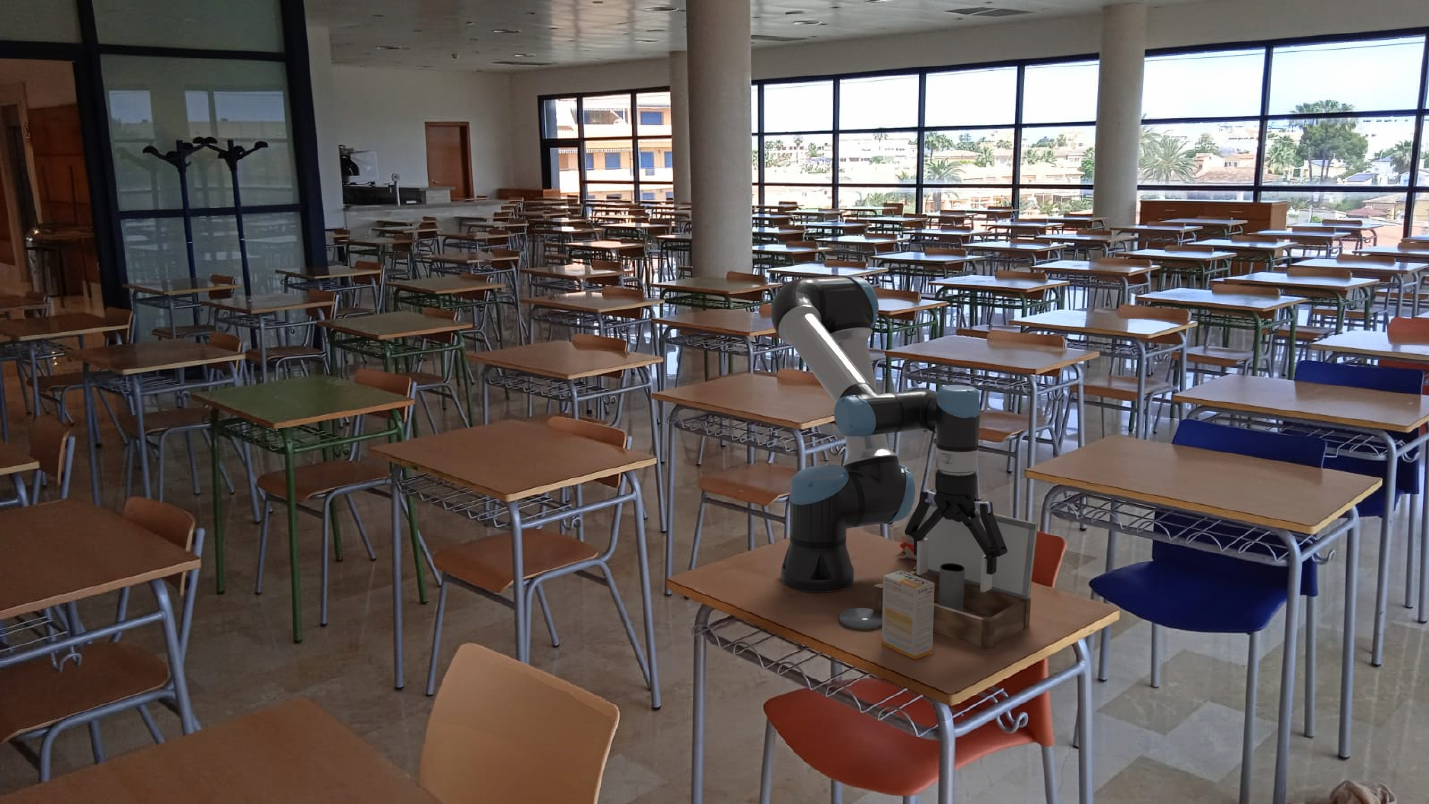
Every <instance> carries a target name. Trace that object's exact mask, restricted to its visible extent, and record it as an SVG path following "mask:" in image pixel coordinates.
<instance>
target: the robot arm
mask: <svg viewBox="0 0 1429 804" xmlns="http://www.w3.org/2000/svg"><path fill="white" fill-rule="evenodd" d="M879 305H880V304H879V299H878V296H877V294H876V291H875V289H874V287H873V286H872V284H871V283H870V282H869V281H868V280H865V279H864V278H863V277H859V276H850V275H840V276H825V277H801V278H795V279H793V280H791V281H789V282H787V283H786V284H785V285H783V286H782V287H781V288H780V289H779V291H778V292H777V293H776V294H775V296H774V299H773V301H772V304H771V309H770V317H771V319H770V320H771V323H772V326H773V328H774V331H775V333H776V334H777V335H778V337H779V339H781V341H782V342H783V343H785V344H786V345H789V346H792V347H793V349H794V350H795V351H796V353H797V354H798V355H799V357H800V358H801V359H802V361H803V362H804V364H805V365H806V366H807V367H808V369H809V370H810V372H811V373H812V374H813V376H814V377H815V379H816V380H817V381H818V382H819V383H820V385H821V386H822V388H823V389H824V390H825V392H826V393H827V394H828V395H829V397H830V398H831V399H832V401H833V402H834V404H835V406H834V410H833V417H834V422H835V423H836V429H837V430H838V432H839V433H840V434H842V435H843V436H844V441H845V445H846V446H845V447H846V451H847V458H846V460H845V461H844V463H843V464H842V466H841V465H837V464H827V465H825V464H819V465H813V466H808V467H806V468H803V469H800V470H798V471H797V472H796V473H795V474H794V475H793V476H792V478H791V480H790V488H789V496H788V497H789V498H788V499H789V543H788V547H787V550H786V553H785V556H784V558H783V562H782V564H781V569H780V580H781V581H782V583H783V584H784V585H786V586H787V587H790V588H792V589H796V590H798V591H804V592H811V593H831V592H838V591H841V590H844V589H847V588H850V587H851V586H852V585H853V584H854V583H855V568H854V566H853V563H852V561H851V556H850V552H849V550H848V549H849V548H848V545H847V533H848V532H847V531H848V529H852V528H860V527H869V526H875V525H881V524H883V525H887V524H891V523H893V522H899V521H901V520H904V519H906V517H908V515H909V514H910V513H911V511H912V509H913V506H914V503H915V499H916V481H915V478H914V477H915V476H914V474H913V473H912V472H911V470H910V468H908V467H907V466H906V465H903V464H900V462H899V457H898V454H896V453H895V452H894V451H892V450H890V449H889V445H888V439H887V435H886V434H890V433H891V434H892V433H904V432H912V431H913V432H915V431H928V432H931V433H934V434H936V436H935V437H936V443H935V444H936V447H935V451H936V452H935V468H936V469H937V470H936V471H935V477H934V480H935V481H934V484H935V485H934V490H935V492H934V491H933V489H931V488H928V489H926V490H923V491H921V492H920V494H919V500H918V504H917V506H916V507H915V509H914V511H913V512H914V513H913V512H912V513H913V515H912V514H911V515H912V517H911V516H910V517H911V519H910V518H909V519H910V521H909V520H908V521H909V523H908V522H907V523H908V525H907V524H906V526H907V527H906V526H905V528H904V529H905V530H904V535H905V534H906V535H910V536H911V537H913V539H914V555H915V556H917V560H916V565H917V573H916V574H917V575H921V574H924V573H926V572H928V539H926V538H924V539H923V537H926V534H927V533H928V532H929V531H930V530H931V529H932V528H933V527H934V526H935V525H936V524H937V523H938V522H939V521H940V520H941V519H942V518H943V517H944V518H945V519H947V520H954V521H956V522H961V521H962V522H963V524H964V525H965V526H967V527H968V528H969V530H970V532H971V533H972V535H973V536H974V538H975V539H976V541H977V543H978V544H979V546H980V547H981V549H982V550H983V552H984V554H985V556H983V557H982V558H981V587H980V591H981V592H986V591H988V590H990V589H992V574H994V573H995V572H996V567H997V566H996V565H997V557H999V556H1002V555H1004V554H1006V553H1007V551H1008V550H1007V547H1006V545H1005V542H1004V540H1003V537H1002V535H1001V532H1000V530H999V527H998V524H997V522H996V519H995V517H994V514H995V513H994V507H993V502H992V501H991V500H987V501H978V500H977V492H978V474H979V473H977V472H976V471H977V470H978V469H979V442H980V440H979V439H980V421H981V420H980V419H981V407H980V405H981V404H980V402H981V401H980V392H979V390H978V389H977V388H976V387H974V386H970V385H963V384H951V385H950V384H949V385H948V384H947V385H942V386H940V387H939V388H938V390H937V391H936V390H932V389H930V388H928V387H923V386H922V387H921V386H920V387H919V386H910V387H906V388H905V389H904V390H903V391H898V392H897V391H896V392H885V393H884V392H883V393H882V392H881V393H879V392H878V388H877V384H876V378H875V374H874V369H873V363H872V359H871V354H870V353H871V352H870V349H869V344H868V341H869V339H870V337H871V335H872V334H873V329H872V328H873V327H874V326H875V325H876V324H877V321H878V319H879V314H878V312H879V310H880V309H879V307H880V306H879ZM933 501H935V503H936V505H937V507H938V508H937V509H936V510H935V511H934V512H933V513H932V515H931V516H930V517H929V519H928V520H927V521H926V522H925V523H924V524H923V525H922V526H921V527H920V528H919V526H920V524H921V522H922V520H923V518H924V516H925V514H926V512H927V510H928V508H929V506H930V504H931V502H933ZM976 509H977V510H978V513H980V516H981V519H982V522H983V525H984V527H985V530H986V531H985V530H984V528H983V526H982V525H981V523H980V522H979V517H978V516H977V514H976V513H975V510H976ZM993 513H994V514H993ZM969 517H970V518H971V519H969ZM918 528H919V529H918ZM986 532H987V533H986Z"/></svg>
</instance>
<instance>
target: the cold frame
mask: <svg viewBox="0 0 1429 804" xmlns="http://www.w3.org/2000/svg"><path fill="white" fill-rule="evenodd" d="M908 573H909V574H912V575H915V576H917V577H920V578H923V579H925V580H928V581H930V582H933V583H934V601H936V602H939V577H940V576H938V575H935V574H931V573H928V572H926V573H924V574H921V575H917V574H916V573H917V569H916V568H915V567H912V571H910V572H908ZM873 590H874V591H873V610H876V611H878V612H880V613H882V614H883V583H877V584H875V585H874V589H873ZM1031 604H1032V598H1031V597H1030V598H1028V599H1027V600H1026V599H1022V598H1016V597H1012V596H1009V595H1005V594H1002V593H998V592H995V591H991V590H988V591H986V592H981V591H980V587H977V586H973V585H970V584H966V583H964V599H963V610H966V611H970V612H972V613H976V614H979V615H982V616H985V617H981V616H978V615H975V614H972V613H969V612H965V611H963V612H962V611H958V610H955V609H952V608H949V607H945V606H942V605H939V604H938V603H935V602H934V613H933V633H936V634H937V633H938V634H940V635H944V636H946V637H949V638H952V639H956V640H959V641H963V642H965V643H968V644H970V645H974V646H977V647H980V648H981V649H984V650H987V651H991V650H993V649H994V647H995V646H997V645H999V644H1000V643H1001V642H1003V641H1004V640H1007V638H1010V637H1011V636H1013V635H1014V634H1016V633H1017V632H1020V631H1021V630H1023V629H1026V628H1028V627H1030V622H1031V621H1030V620H1031Z"/></svg>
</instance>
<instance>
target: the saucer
mask: <svg viewBox="0 0 1429 804" xmlns="http://www.w3.org/2000/svg"><path fill="white" fill-rule="evenodd" d="M882 615H883V614H882V613H880V612H878V611H876V610H874V609H873V608H866V607H857V608H856V607H855V608H848V609H846V610H844V611H841V613H840V614H839V622H840V623H841V625H843V626H845V627H846V628H850V629H853V630H859V631H870V630H877V629H880V628H882Z"/></svg>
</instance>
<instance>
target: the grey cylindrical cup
mask: <svg viewBox="0 0 1429 804" xmlns="http://www.w3.org/2000/svg"><path fill="white" fill-rule="evenodd" d="M964 576H965V568H964V567H963V566H962V565H959V564H954V563H946V564H942V565H941V566H940V577H939V601H938V602H937V604H939V605H942V606H945V607H949V608H952V609H955V610H958V611H962V612H964V609H963V599H964Z"/></svg>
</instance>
